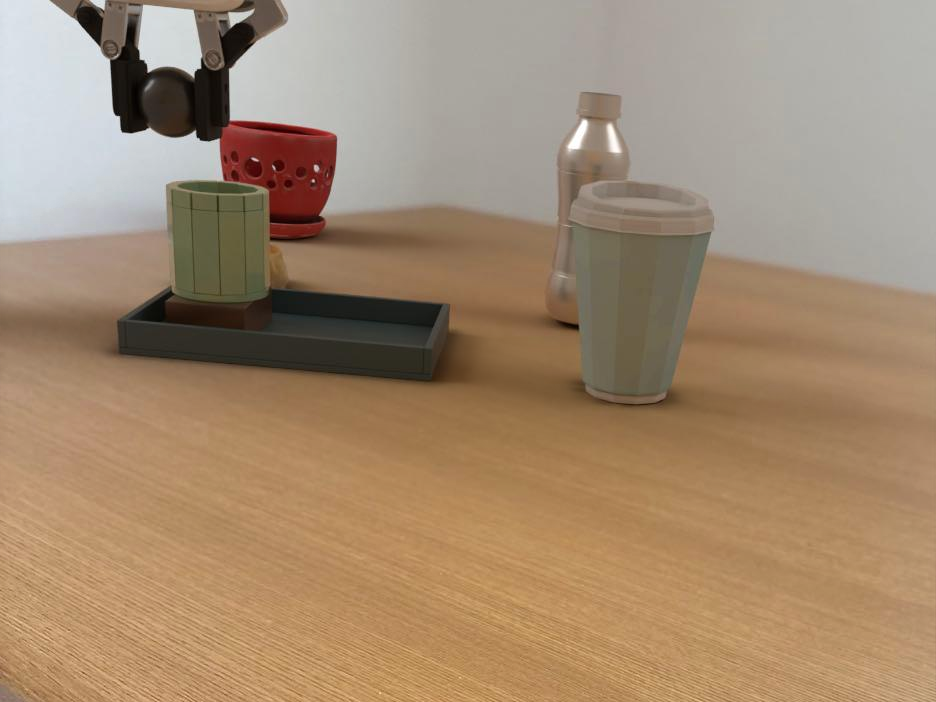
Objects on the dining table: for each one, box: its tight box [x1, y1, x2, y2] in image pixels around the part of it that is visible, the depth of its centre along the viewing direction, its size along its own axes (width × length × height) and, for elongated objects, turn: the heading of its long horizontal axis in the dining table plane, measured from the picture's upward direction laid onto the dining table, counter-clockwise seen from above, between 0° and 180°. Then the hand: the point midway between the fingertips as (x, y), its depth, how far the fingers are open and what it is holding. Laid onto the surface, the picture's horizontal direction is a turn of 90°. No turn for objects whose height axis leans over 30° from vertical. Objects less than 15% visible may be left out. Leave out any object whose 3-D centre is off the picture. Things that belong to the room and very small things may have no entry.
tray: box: [116, 284, 451, 382], centre depth 90 cm, size 23×15×2 cm, turn 89°
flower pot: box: [218, 119, 338, 240], centre depth 131 cm, size 13×13×12 cm
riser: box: [165, 284, 272, 331], centre depth 90 cm, size 6×9×3 cm, turn 179°
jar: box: [165, 179, 271, 303], centre depth 88 cm, size 7×7×8 cm
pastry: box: [270, 244, 289, 289], centre depth 106 cm, size 9×7×4 cm
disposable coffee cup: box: [568, 180, 716, 405], centre depth 83 cm, size 11×11×15 cm
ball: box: [136, 65, 196, 139], centre depth 68 cm, size 4×4×4 cm
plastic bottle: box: [544, 91, 631, 327], centre depth 101 cm, size 6×7×20 cm
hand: (172, 131), depth 69 cm, fingers closed on ball, 3 cm apart
